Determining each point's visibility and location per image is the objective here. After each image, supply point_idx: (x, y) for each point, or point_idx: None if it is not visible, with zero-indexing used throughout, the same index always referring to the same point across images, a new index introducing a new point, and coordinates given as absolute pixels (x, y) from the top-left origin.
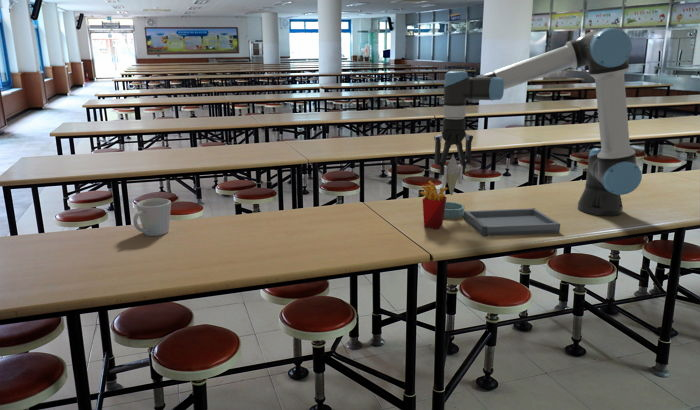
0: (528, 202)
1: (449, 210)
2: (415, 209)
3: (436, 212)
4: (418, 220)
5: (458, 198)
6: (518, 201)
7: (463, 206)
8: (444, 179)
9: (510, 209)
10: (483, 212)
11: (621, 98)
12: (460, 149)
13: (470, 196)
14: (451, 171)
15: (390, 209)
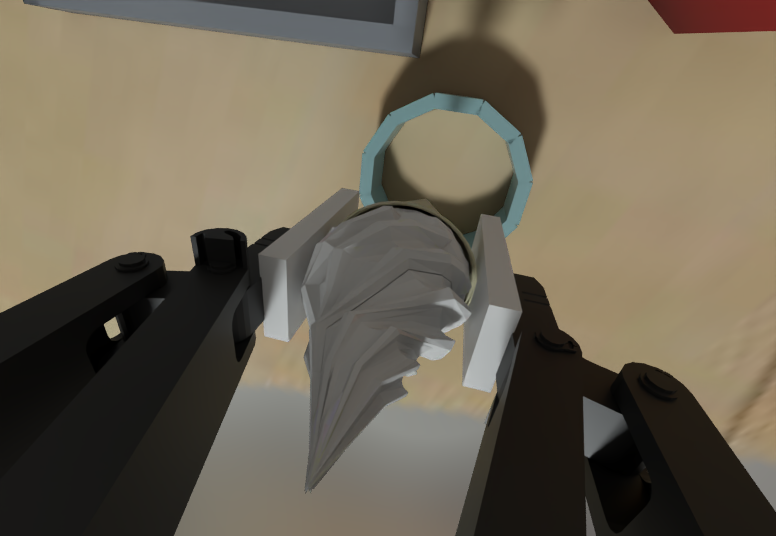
0: (74, 219)
1: (487, 102)
2: (558, 293)
3: None
4: (688, 113)
5: (304, 348)
6: (106, 242)
7: (369, 153)
8: (502, 235)
9: (142, 13)
10: (301, 15)
11: None
12: (41, 534)
13: (255, 350)
14: (428, 248)
15: (679, 334)
